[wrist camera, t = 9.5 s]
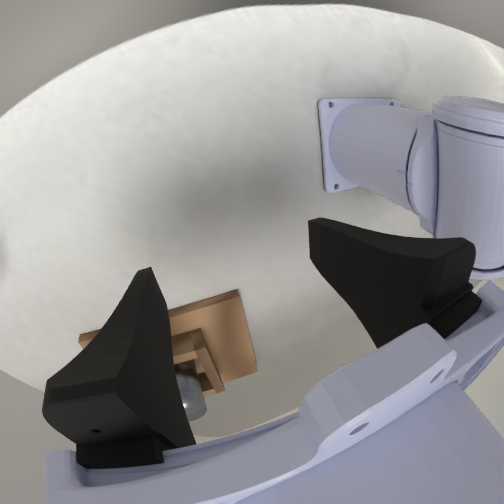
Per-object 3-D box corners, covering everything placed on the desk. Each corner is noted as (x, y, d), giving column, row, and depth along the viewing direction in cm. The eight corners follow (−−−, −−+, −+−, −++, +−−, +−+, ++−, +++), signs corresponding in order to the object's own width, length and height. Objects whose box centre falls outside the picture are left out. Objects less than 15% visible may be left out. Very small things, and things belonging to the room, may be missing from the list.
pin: (184, 344, 24) (195, 395, 19) (200, 365, 27) (213, 413, 22) (148, 357, 24) (153, 409, 19) (167, 378, 26) (175, 425, 21)
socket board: (236, 289, 25) (248, 314, 22) (255, 365, 31) (265, 387, 28) (79, 334, 21) (74, 362, 19) (132, 398, 28) (134, 422, 25)
